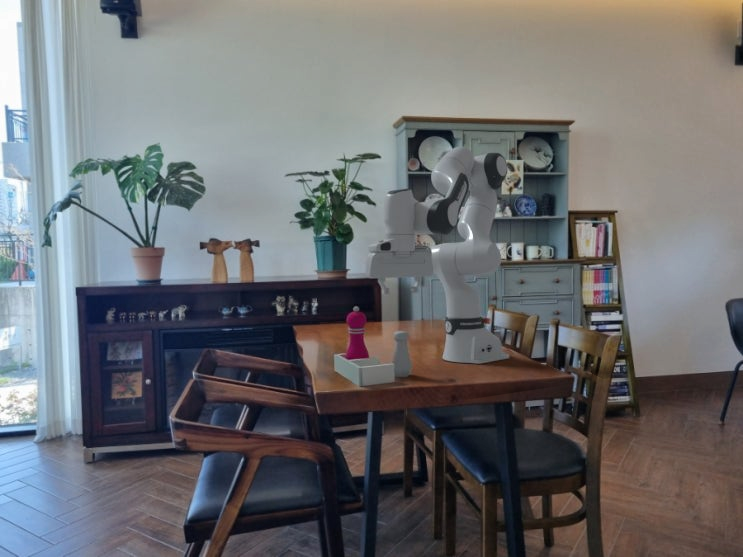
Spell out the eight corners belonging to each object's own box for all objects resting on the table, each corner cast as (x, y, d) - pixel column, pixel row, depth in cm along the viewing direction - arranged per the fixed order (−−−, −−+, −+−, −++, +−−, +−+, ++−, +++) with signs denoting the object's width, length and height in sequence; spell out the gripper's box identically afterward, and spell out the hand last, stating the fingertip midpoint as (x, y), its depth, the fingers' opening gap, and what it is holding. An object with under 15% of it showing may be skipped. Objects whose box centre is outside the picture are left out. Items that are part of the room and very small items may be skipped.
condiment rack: (366, 367, 157) (365, 351, 157) (394, 382, 138) (394, 364, 138) (334, 370, 153) (334, 354, 153) (359, 386, 134) (358, 368, 134)
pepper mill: (341, 373, 149) (339, 307, 148) (353, 368, 155) (351, 304, 154) (362, 376, 146) (360, 307, 145) (373, 371, 152) (372, 305, 151)
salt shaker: (412, 373, 148) (411, 329, 147) (411, 378, 142) (411, 332, 141) (392, 373, 148) (391, 330, 148) (391, 378, 142) (390, 332, 142)
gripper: (426, 245, 150) (426, 291, 151) (363, 245, 143) (364, 294, 143) (436, 244, 145) (437, 292, 145) (371, 245, 137) (372, 295, 137)
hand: (400, 293), depth 144 cm, fingers open, 8 cm apart
